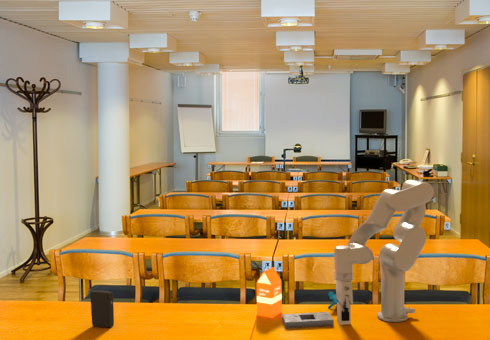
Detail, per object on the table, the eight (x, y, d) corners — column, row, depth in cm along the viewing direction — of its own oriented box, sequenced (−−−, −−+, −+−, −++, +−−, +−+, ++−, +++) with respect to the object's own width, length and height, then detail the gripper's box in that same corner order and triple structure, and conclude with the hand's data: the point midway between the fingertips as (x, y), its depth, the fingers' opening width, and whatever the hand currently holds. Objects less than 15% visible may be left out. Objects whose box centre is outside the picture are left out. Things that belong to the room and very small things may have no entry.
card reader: (115, 325, 253) (114, 290, 251) (110, 328, 249) (108, 293, 248) (96, 323, 256) (95, 289, 254) (91, 326, 252) (89, 291, 251)
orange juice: (282, 312, 266) (281, 267, 264) (272, 318, 258) (271, 272, 256) (266, 309, 270) (266, 265, 268) (256, 315, 263) (255, 270, 261)
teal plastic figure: (343, 310, 262) (327, 292, 265) (333, 318, 263) (318, 300, 266) (348, 305, 272) (333, 288, 275) (339, 314, 274) (324, 296, 277)
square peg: (347, 320, 253) (347, 301, 253) (350, 324, 249) (350, 305, 248) (337, 321, 253) (337, 302, 252) (339, 324, 249) (339, 305, 248)
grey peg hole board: (328, 317, 257) (327, 311, 257) (333, 325, 248) (333, 319, 247) (281, 320, 256) (281, 314, 255) (285, 328, 246) (285, 322, 245)
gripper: (358, 280, 241) (358, 325, 243) (347, 270, 258) (347, 311, 260) (339, 281, 240) (340, 326, 242) (329, 270, 257) (330, 312, 259)
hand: (343, 318), depth 251 cm, fingers closed on square peg, 4 cm apart
